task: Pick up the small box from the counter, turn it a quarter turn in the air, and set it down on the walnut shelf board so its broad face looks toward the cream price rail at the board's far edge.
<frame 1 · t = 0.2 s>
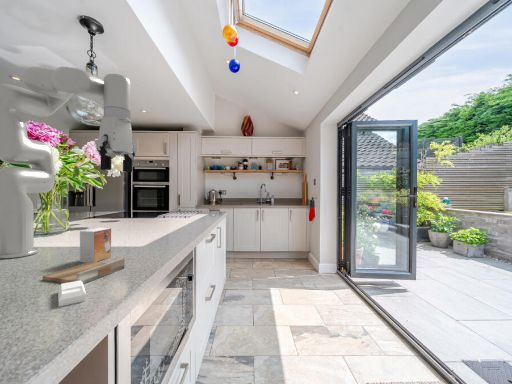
hand: (117, 170, 82), 30 cm above the countertop, tool pointing down, fingers open, 9 cm apart
small box: (96, 260, 90), on the countertop
soap bar: (71, 298, 60), on the countertop
shelf board: (86, 273, 76), on the countertop
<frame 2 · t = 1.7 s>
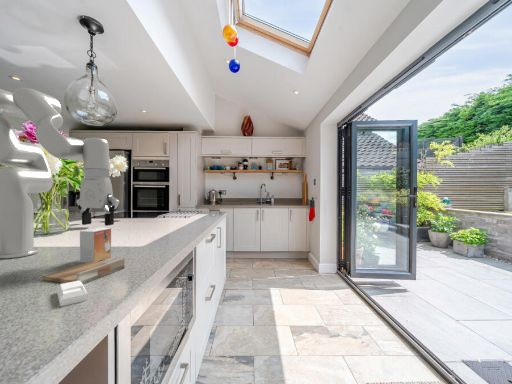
hand: (97, 224, 90), 12 cm above the countertop, tool pointing down, fingers open, 9 cm apart
nothing on the countertop moved.
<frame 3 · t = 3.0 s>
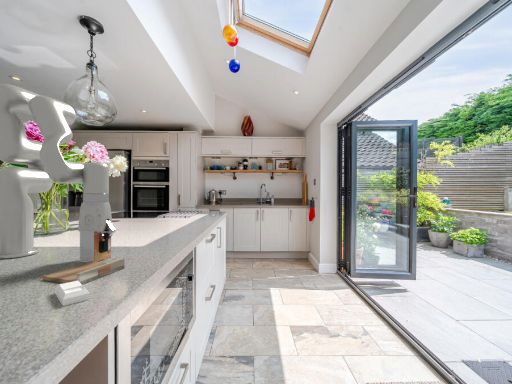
hand: (96, 250, 90), 3 cm above the countertop, tool pointing down, fingers closed on small box, 5 cm apart
small box: (95, 260, 90), on the countertop, touching gripper
everything else where it was.
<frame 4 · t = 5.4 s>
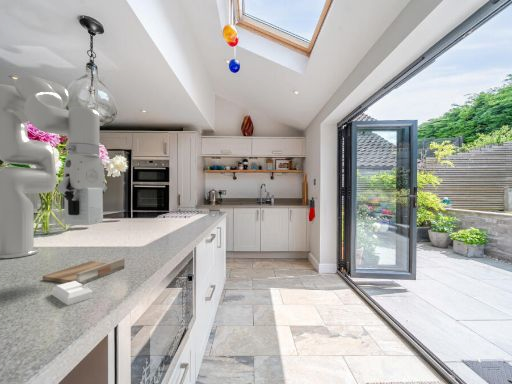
hand: (84, 213, 76), 18 cm above the countertop, tool pointing down, fingers closed on small box, 5 cm apart
small box: (84, 224, 76), point 14 cm above the countertop, touching gripper
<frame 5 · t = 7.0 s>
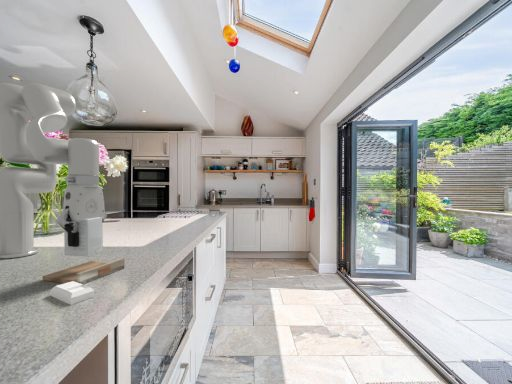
hand: (84, 243, 76), 9 cm above the countertop, tool pointing down, fingers closed on small box, 5 cm apart
small box: (84, 254, 76), point 5 cm above the countertop, touching gripper
when the fingers open (5 cm above the countertop, at t = 8.1 s): small box drops 1 cm, resting on shelf board.
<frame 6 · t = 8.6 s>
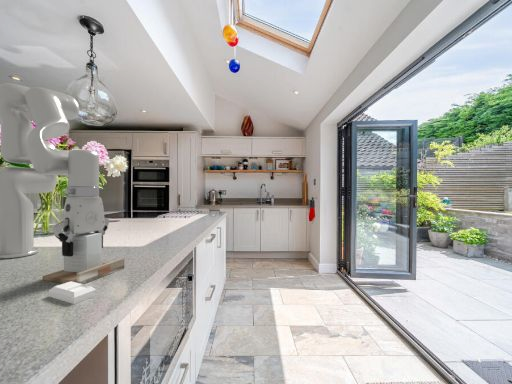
hand: (83, 251, 76), 6 cm above the countertop, tool pointing down, fingers open, 9 cm apart
small box: (83, 270, 76), point 1 cm above the countertop, touching shelf board
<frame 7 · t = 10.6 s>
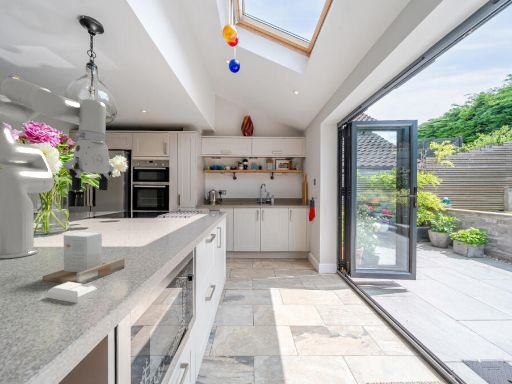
hand: (90, 190, 87), 24 cm above the countertop, tool pointing down, fingers open, 9 cm apart
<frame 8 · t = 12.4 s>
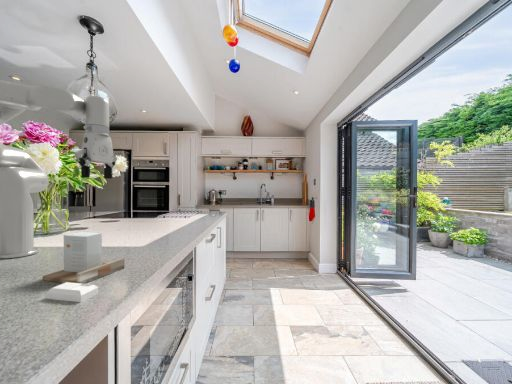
hand: (97, 177, 97), 28 cm above the countertop, tool pointing down, fingers open, 9 cm apart
at the end: small box inside the target area on the shelf board (0.2 cm from its centre), point 0.8 cm above the shelf board's base; small box tilted 0°; the gripper is holding nothing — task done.
